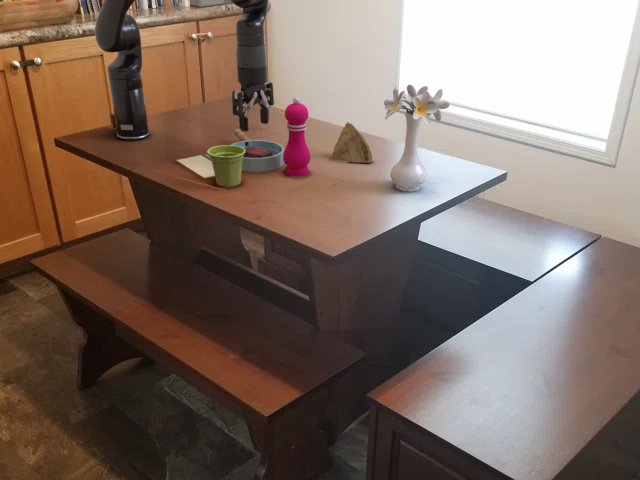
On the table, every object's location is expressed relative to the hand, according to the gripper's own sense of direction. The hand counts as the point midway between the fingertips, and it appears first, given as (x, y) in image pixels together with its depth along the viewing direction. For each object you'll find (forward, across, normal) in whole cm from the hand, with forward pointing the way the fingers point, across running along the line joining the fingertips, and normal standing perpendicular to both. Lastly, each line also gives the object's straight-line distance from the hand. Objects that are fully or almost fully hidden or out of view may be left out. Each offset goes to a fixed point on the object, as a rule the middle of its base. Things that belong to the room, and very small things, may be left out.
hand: (254, 127), depth 183 cm
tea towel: (+10, +10, -9) cm, 17 cm away
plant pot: (+10, +16, +3) cm, 19 cm away
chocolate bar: (+10, 0, 0) cm, 10 cm away
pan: (+10, 0, 0) cm, 10 cm away
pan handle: (+8, -8, -11) cm, 15 cm away
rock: (+10, -18, +20) cm, 29 cm away
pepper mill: (+10, -1, +13) cm, 17 cm away
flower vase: (+11, -11, +41) cm, 44 cm away
